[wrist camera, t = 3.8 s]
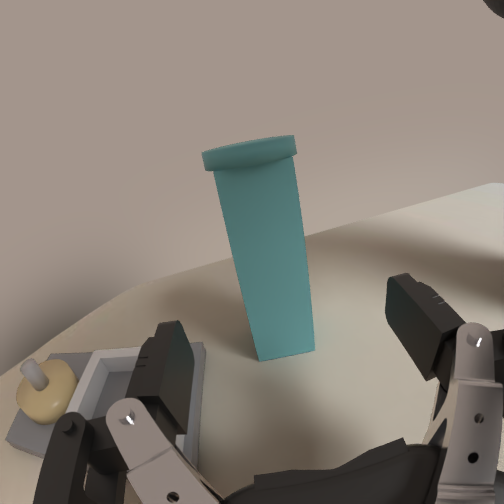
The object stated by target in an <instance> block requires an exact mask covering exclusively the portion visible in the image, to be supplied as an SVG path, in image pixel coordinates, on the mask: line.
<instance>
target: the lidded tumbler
mask: <svg viewBox="0 0 504 504" xmlns="http://www.w3.org/2000/svg"><path fill="white" fill-rule="evenodd" d="M295 154H297V151H296V145H295V139H294V135H288V136H278V137H270V138H264V139H257V140H251V141H246V142H241V143H236V144H232V145H227V146H223V147H219V148H215V149H211V150H208V151H204V152H202V158H203V162H204V167H205V170H206V171H214V177H215V181H216V186H217V191H218V195H219V199H220V204H221V208H222V212H223V217H224V221H225V225H226V229H227V234H228V238H229V242H230V247H231V251H232V255H233V259H234V263H235V267H236V272H237V276H238V280H239V284H240V288H241V292H242V296H243V300H244V304H245V308H246V312H247V316H248V320H249V324H250V328H251V332H252V336H253V340H254V344H255V347H256V351H257V355H258V359H259V362H260V361H266V360H271V359H276V358H281V357H286V356H291V355H296V354H301V353H305V352H310V351H314V350H315V342H314V329H313V316H312V305H311V294H310V284H309V274H308V265H307V256H306V247H305V239H304V231H303V223H302V216H301V208H300V202H299V194H298V188H297V181H296V174H295V168H294V162H293V157H292V156H294V155H295Z"/></svg>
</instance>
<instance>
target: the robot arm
mask: <svg viewBox="0 0 504 504" xmlns="http://www.w3.org/2000/svg"><path fill="white" fill-rule="evenodd" d="M483 1H484V2H485V3H486V5H487V6H488V7H489V8H490V9H491V10H492V11H493V12H494V13H496V14H497V15H499V16H500V17H502V18H504V0H483ZM385 314H386V319H387V322H388V324H389V325H390V327H391V328H392V330H393V331H394V333H395V334H396V336H397V337H398V339H399V340H400V342H401V343H402V345H403V346H404V348H405V349H406V351H407V352H408V354H409V355H410V357H411V358H412V360H413V361H414V363H415V365H416V366H417V368H418V369H419V371H420V372H421V374H422V376H423V377H424V379H425V380H426V381H428V380H430V379H433V378H435V377H437V378H438V380H439V382H438V384H437V389H436V394H435V400H434V405H433V409H432V414H431V418H430V423H429V426H428V430H427V432H426V434H425V437H424V439H423V442H422V444H409V445H406V443H405V441H404V439H403V437H402V438H400V439H398V440H395V441H393V442H390V443H387V444H385V445H382V446H379V447H376V448H374V449H371V450H368V451H367V452H365V453H363V454H362V455H360V456H358V457H356V458H355V459H353V460H351V461H349V462H347V463H346V464H344V465H342V466H340V467H338V468H336V469H331V470H288V471H282V472H276V473H269V474H261V475H254V484H251V485H248V486H246V487H244V488H241V489H239V490H238V491H236V492H234V493H232V494H231V495H230V496H228V497H227V498H225V499H224V498H223V497H222V496H221V495H220V494H219V493H218V492H217V491H216V490H215V489H214V488H213V487H212V486H211V485H210V484H209V483H208V482H207V480H206V479H205V478H204V477H203V476H202V475H201V474H200V473H199V472H198V470H197V469H196V468H195V467H194V466H193V464H192V463H191V462H190V461H189V460H188V458H187V457H186V456H185V455H184V454H183V452H182V451H181V450H180V448H179V447H178V446H177V445H176V435H187V431H188V420H189V410H190V401H191V391H192V383H193V374H194V366H195V360H194V354H193V351H192V348H191V346H190V343H189V341H188V339H187V336H186V334H185V332H184V329H183V327H182V325H181V323H180V321H178V320H177V321H170V322H163V323H159V324H158V327H157V330H156V333H155V336H154V337H149V338H148V339H147V341H146V342H145V343H144V344H143V345H142V347H141V349H140V352H139V355H138V359H137V361H136V364H135V368H134V370H133V373H132V376H131V379H130V382H129V385H128V389H127V392H126V395H125V398H124V399H121V400H119V401H117V402H115V403H114V404H113V405H112V406H111V407H110V408H109V410H108V412H107V415H106V416H103V417H99V418H95V419H91V420H86V419H85V418H84V417H83V416H82V415H81V414H80V413H78V412H68V413H66V414H64V415H62V416H61V417H60V418H59V419H58V420H57V422H56V423H55V426H54V428H53V431H52V434H51V437H50V441H49V444H48V447H47V450H46V453H45V457H44V460H43V464H42V467H41V471H40V475H39V479H38V483H37V487H36V491H35V496H34V501H33V504H124V493H125V483H126V475H127V477H128V480H129V481H130V483H131V485H132V487H133V488H134V490H135V492H136V493H137V495H138V497H139V498H140V500H141V501H142V503H143V504H504V472H502V471H499V470H497V464H498V458H499V450H500V442H501V432H502V417H503V418H504V329H503V330H497V331H491V332H490V331H489V330H488V329H487V328H486V327H485V326H483V325H481V324H478V323H472V322H471V323H466V322H465V321H464V320H463V319H462V318H461V317H460V316H459V315H458V314H457V313H456V312H455V311H454V310H453V309H452V308H451V307H450V306H449V305H448V304H447V303H446V302H445V301H444V300H443V299H442V298H441V297H440V296H439V295H438V294H437V293H436V292H435V291H434V290H433V289H432V288H431V287H430V286H428V285H426V284H424V283H422V282H417V281H416V280H415V279H413V278H412V277H411V276H410V275H409V274H408V273H403V274H400V275H396V276H392V277H389V279H388V282H387V294H386V306H385ZM87 465H88V466H89V469H88V474H87V480H86V485H85V491H84V488H83V485H84V479H85V474H86V469H87ZM127 470H130V471H128V472H127Z"/></svg>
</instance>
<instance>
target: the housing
mask: <svg viewBox="0 0 504 504" xmlns="http://www.w3.org/2000/svg"><path fill="white" fill-rule="evenodd" d="M190 346H191V348H192V351H193V354H194V360H195V366H194V374H193V383H192V391H191V401H190V410H189V420H188V431H187V435H176V445H177V446H178V447H179V448H180V450H181V451H182V452H183V454H184V455H185V456H186V457H187V458H188V460H189V461H190V462H191V463H192V464H193V466H194V467H195V468H196V469H197V465H198V447H199V430H200V416H201V402H202V390H203V378H204V366H205V355H206V350H205V347H204V345H203V342H196V343H190ZM141 347H142V346H141ZM141 347H130V348H118V349H103V350H94V352H89V353H59V354H50V356H49V357H48V359H47V361H45V362H42V363H40V364H37V363H36V361H35V360H34V359H32V358H31V359H28V360H26V361H25V362H24V363H23V364H22V365H21V368H20V371H21V372H22V374H23V375H24V376H25V377H24V378H23V379H22V381H21V383H20V385H19V387H18V390H17V395H16V399H17V403H18V406H19V407H20V409H19V411H18V413H17V415H16V417H15V419H14V421H13V424H12V426H11V428H10V430H9V432H8V434H7V437H6V439H5V440H6V441H7V442H8V443H9V444H10V445H12V446H13V447H15V448H17V449H20V450H22V451H25V452H27V453H30V454H33V455H35V456H38V457H41V458H44V457H45V453H46V450H47V447H48V444H49V441H50V437H51V434H52V431H53V428H54V426H55V423H56V422H57V420H58V419H59V418H60V417H61V416H62V415H64V414H66V413H68V412H78V413H80V414H81V415H82V416H83V417H84V418H85V419H86V420H91V419H95V418H99V417H103V416H106V415H107V412H108V410H109V408H110V407H111V406H112V405H113V404H114V403H115V402H117V401H119V400H121V399H124V398H125V395H126V392H127V389H128V385H129V382H130V379H131V376H132V373H133V370H134V368H135V364H136V361H137V359H138V355H139V352H140V349H141ZM88 469H89V466H88V465H87V469H86V470H87V471H88ZM128 471H130V470H127V472H128ZM126 478H128V477H127V475H126Z"/></svg>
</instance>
